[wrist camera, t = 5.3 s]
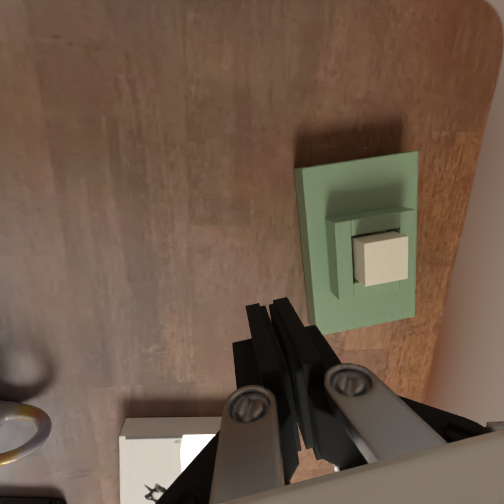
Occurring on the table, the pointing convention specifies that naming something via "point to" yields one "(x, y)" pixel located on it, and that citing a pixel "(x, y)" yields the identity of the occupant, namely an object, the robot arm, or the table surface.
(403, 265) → the ivory key
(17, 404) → the mug
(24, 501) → the phone
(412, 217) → the green block
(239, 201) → the table surface
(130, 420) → the book
